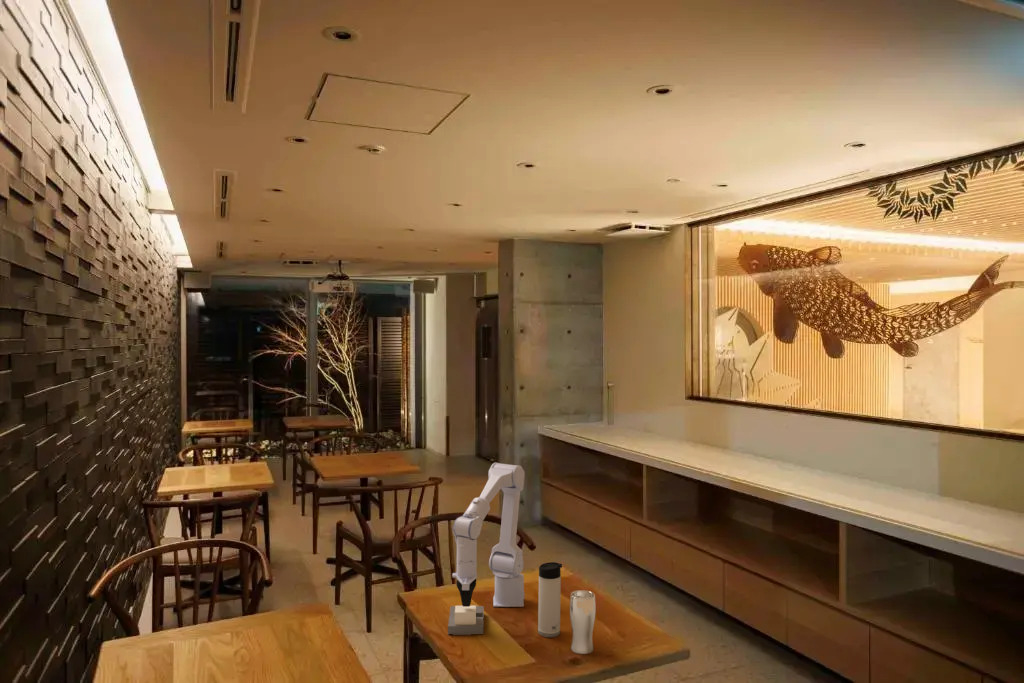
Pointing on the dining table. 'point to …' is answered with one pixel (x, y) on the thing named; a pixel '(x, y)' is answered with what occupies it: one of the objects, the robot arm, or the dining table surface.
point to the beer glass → (582, 620)
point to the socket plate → (465, 629)
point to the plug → (466, 615)
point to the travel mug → (549, 599)
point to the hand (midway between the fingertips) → (466, 605)
